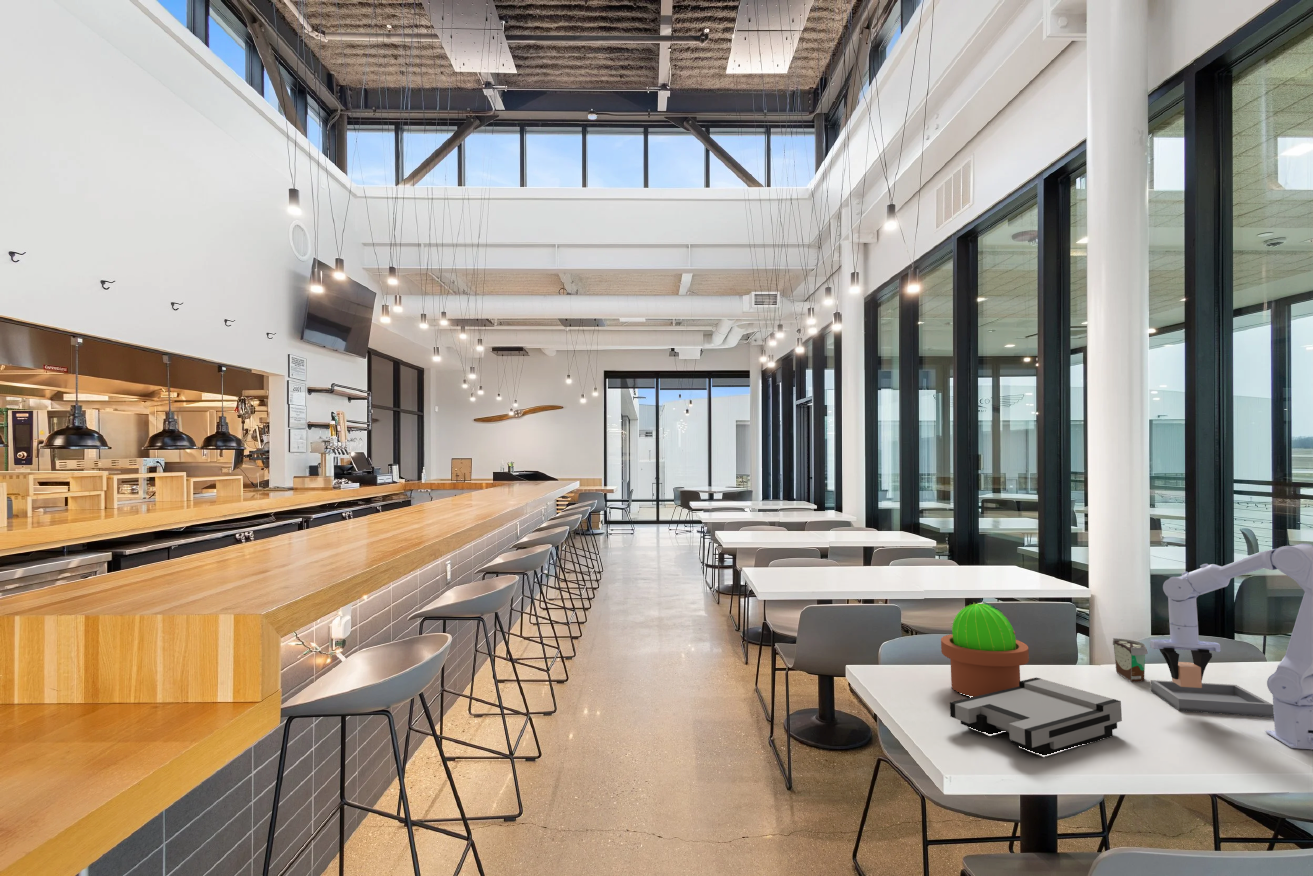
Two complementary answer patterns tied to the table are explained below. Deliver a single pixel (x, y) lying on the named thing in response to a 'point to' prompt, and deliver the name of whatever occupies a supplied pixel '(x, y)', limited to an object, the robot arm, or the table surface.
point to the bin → (1212, 699)
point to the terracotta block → (1188, 675)
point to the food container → (1130, 659)
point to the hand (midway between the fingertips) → (1186, 678)
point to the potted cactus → (983, 651)
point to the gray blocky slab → (1041, 715)
